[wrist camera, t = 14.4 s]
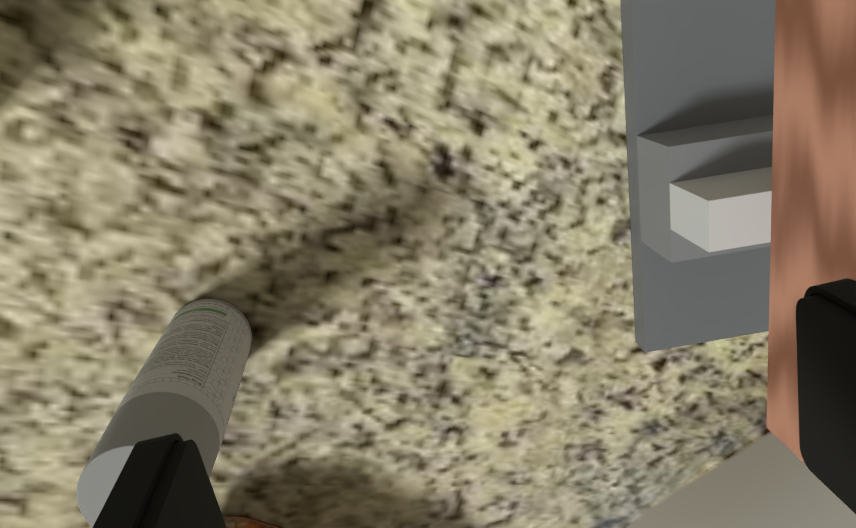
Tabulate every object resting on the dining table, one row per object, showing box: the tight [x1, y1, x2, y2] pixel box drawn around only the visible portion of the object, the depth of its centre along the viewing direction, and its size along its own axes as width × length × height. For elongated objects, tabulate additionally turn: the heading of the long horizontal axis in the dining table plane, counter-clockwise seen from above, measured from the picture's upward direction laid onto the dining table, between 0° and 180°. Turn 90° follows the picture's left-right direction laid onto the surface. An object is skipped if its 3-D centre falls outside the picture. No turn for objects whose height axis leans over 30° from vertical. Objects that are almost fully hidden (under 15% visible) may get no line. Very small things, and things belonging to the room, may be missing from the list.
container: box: [77, 299, 252, 527], centre depth 34 cm, size 5×5×15 cm
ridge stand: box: [621, 0, 776, 352], centre depth 37 cm, size 20×10×10 cm, turn 8°
